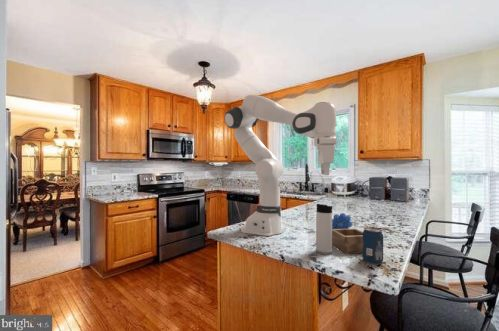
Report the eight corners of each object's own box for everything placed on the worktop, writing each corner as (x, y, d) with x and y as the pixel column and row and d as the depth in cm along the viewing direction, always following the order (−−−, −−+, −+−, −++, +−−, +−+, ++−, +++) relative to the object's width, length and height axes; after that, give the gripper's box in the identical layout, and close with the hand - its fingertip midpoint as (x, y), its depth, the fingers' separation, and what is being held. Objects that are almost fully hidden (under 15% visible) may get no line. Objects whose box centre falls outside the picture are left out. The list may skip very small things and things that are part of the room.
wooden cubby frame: (344, 253, 95) (344, 236, 95) (330, 244, 106) (330, 229, 106) (371, 252, 97) (371, 235, 97) (355, 243, 108) (355, 228, 108)
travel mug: (312, 251, 97) (312, 203, 97) (323, 248, 100) (323, 202, 101) (323, 256, 92) (324, 205, 92) (335, 253, 95) (335, 204, 95)
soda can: (366, 256, 92) (366, 226, 92) (385, 261, 87) (386, 229, 87) (359, 261, 88) (359, 229, 88) (379, 267, 83) (379, 233, 83)
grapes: (349, 234, 122) (349, 211, 122) (353, 238, 115) (353, 214, 116) (326, 233, 124) (326, 210, 124) (329, 237, 117) (329, 213, 117)
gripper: (314, 144, 108) (314, 174, 108) (319, 138, 88) (319, 175, 88) (329, 143, 107) (329, 174, 107) (337, 138, 87) (337, 175, 86)
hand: (324, 174), depth 97 cm, fingers open, 8 cm apart
